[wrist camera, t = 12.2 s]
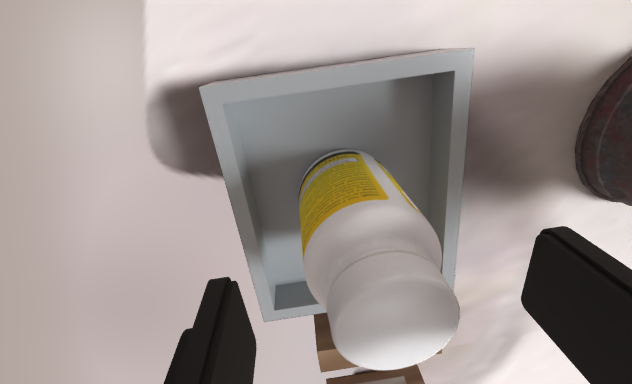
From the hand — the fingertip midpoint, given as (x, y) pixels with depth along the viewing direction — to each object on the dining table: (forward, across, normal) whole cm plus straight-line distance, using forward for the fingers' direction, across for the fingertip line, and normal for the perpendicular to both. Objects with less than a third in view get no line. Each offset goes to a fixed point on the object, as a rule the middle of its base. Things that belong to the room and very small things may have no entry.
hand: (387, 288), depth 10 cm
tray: (+10, 0, +1) cm, 10 cm away
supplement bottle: (+9, 0, +1) cm, 9 cm away
